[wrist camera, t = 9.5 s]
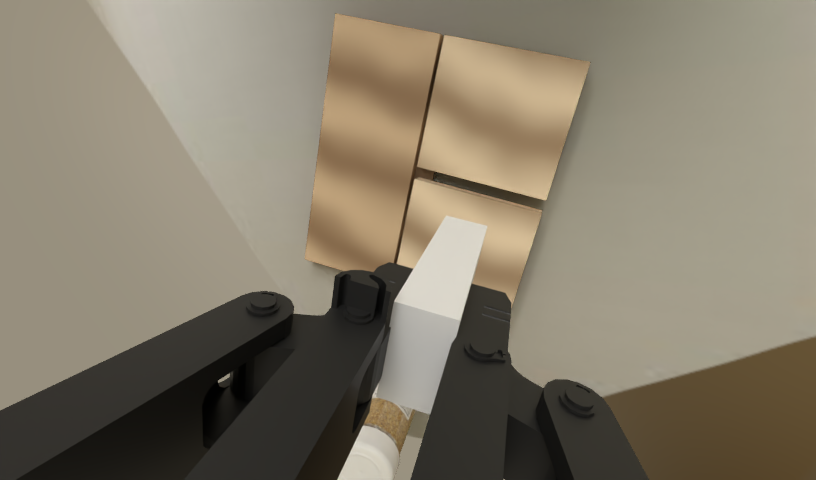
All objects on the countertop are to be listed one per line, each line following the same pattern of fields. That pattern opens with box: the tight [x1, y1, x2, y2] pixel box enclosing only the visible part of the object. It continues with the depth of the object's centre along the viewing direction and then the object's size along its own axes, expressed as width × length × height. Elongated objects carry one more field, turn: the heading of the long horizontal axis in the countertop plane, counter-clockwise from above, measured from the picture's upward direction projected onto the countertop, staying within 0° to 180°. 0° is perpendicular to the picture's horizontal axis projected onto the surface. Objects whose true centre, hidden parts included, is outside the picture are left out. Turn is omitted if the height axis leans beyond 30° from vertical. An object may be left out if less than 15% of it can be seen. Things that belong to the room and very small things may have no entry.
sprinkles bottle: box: [337, 383, 416, 480], centre depth 35 cm, size 5×5×13 cm
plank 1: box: [417, 35, 591, 201], centre depth 32 cm, size 10×10×1 cm
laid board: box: [305, 13, 444, 272], centre depth 36 cm, size 20×10×2 cm, turn 168°
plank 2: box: [397, 177, 542, 308], centre depth 35 cm, size 10×10×1 cm
